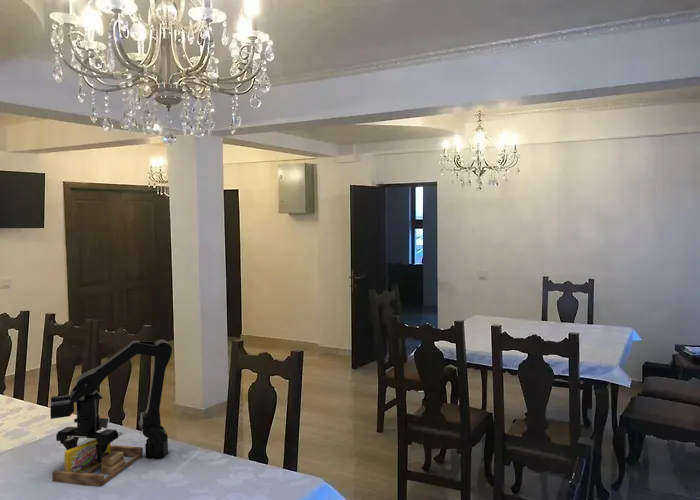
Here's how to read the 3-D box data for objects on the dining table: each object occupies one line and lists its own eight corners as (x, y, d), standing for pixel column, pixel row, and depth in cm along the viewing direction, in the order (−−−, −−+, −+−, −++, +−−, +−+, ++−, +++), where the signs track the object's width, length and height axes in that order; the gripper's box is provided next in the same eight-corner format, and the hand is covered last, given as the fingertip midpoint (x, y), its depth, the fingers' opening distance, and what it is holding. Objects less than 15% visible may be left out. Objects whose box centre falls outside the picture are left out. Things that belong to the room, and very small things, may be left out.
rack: (142, 456, 190) (142, 447, 189) (101, 486, 168) (101, 476, 168) (98, 452, 193) (98, 444, 193) (52, 482, 171) (52, 472, 171)
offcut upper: (123, 459, 182) (123, 451, 182) (111, 467, 176) (111, 459, 176) (114, 458, 183) (113, 451, 182) (101, 466, 177) (101, 458, 177)
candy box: (68, 478, 173) (67, 452, 173) (63, 477, 174) (62, 451, 174) (111, 459, 188) (110, 434, 187) (106, 458, 189) (106, 433, 188)
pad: (122, 433, 211) (122, 432, 211) (91, 452, 193) (91, 450, 193) (100, 432, 212) (100, 430, 212) (68, 451, 195) (68, 449, 195)
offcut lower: (125, 466, 182) (125, 458, 182) (112, 475, 175) (112, 468, 175) (114, 465, 183) (114, 458, 183) (101, 474, 176) (101, 467, 176)
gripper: (127, 407, 186) (128, 453, 187) (77, 404, 190) (78, 449, 191) (106, 418, 176) (108, 467, 176) (54, 415, 179) (55, 463, 180)
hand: (88, 461), depth 181 cm, fingers open, 9 cm apart
